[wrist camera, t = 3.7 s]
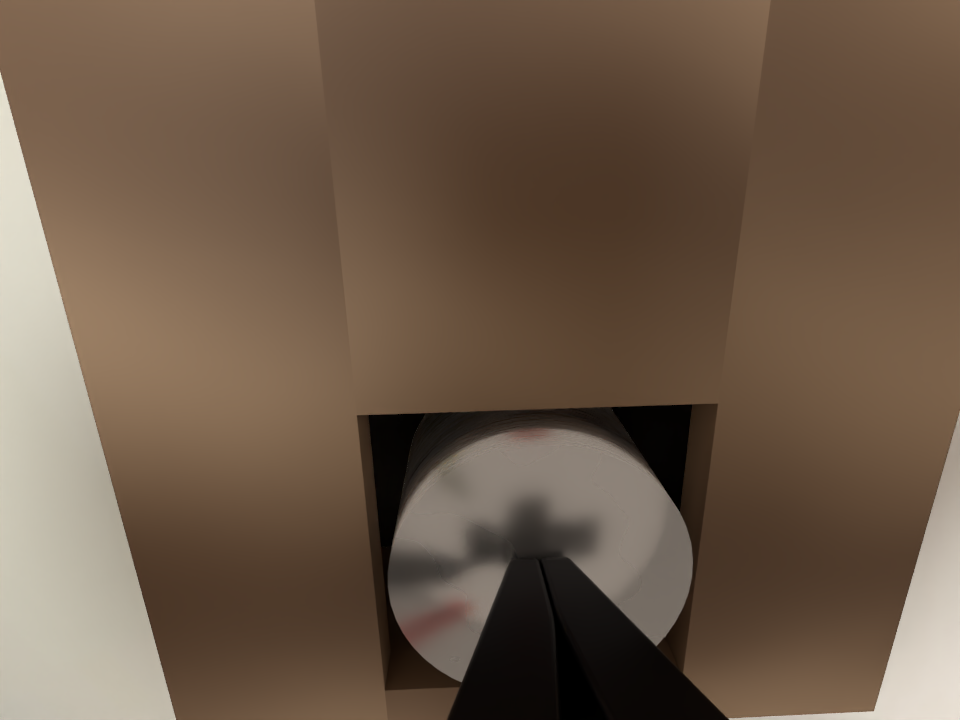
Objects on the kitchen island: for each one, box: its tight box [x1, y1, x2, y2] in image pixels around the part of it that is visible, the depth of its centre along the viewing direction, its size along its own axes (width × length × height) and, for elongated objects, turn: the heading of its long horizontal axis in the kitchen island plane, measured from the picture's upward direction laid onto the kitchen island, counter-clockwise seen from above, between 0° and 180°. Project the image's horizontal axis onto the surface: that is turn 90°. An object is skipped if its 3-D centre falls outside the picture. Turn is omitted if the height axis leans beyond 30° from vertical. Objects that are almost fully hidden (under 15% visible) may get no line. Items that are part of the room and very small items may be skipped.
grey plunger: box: [388, 407, 693, 682], centre depth 9 cm, size 4×4×3 cm
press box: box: [0, 0, 960, 720], centre depth 8 cm, size 18×12×4 cm, turn 1°
